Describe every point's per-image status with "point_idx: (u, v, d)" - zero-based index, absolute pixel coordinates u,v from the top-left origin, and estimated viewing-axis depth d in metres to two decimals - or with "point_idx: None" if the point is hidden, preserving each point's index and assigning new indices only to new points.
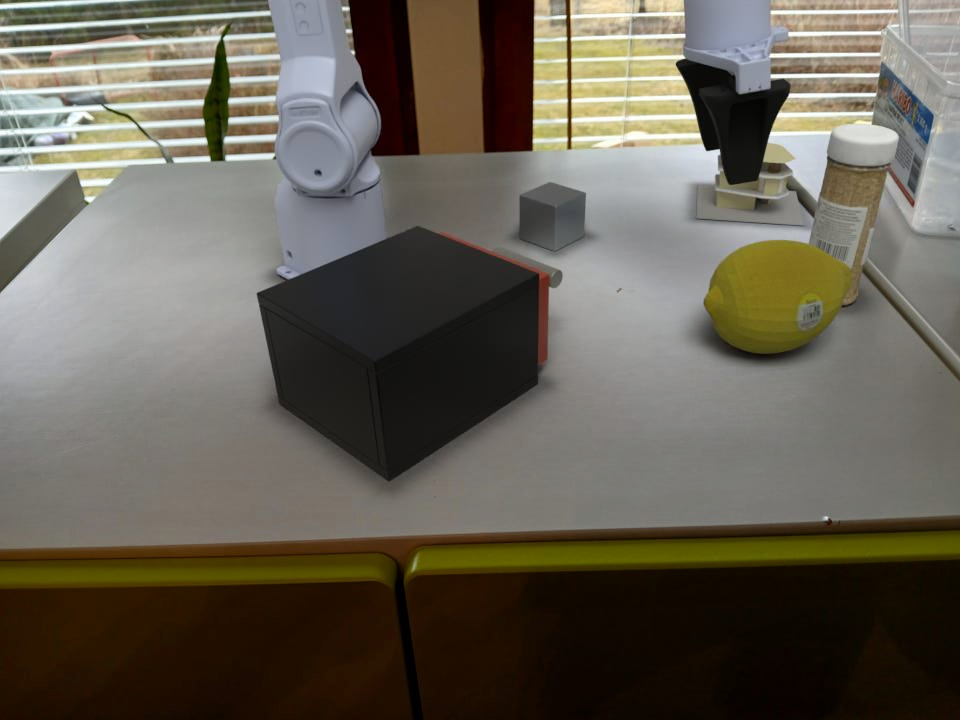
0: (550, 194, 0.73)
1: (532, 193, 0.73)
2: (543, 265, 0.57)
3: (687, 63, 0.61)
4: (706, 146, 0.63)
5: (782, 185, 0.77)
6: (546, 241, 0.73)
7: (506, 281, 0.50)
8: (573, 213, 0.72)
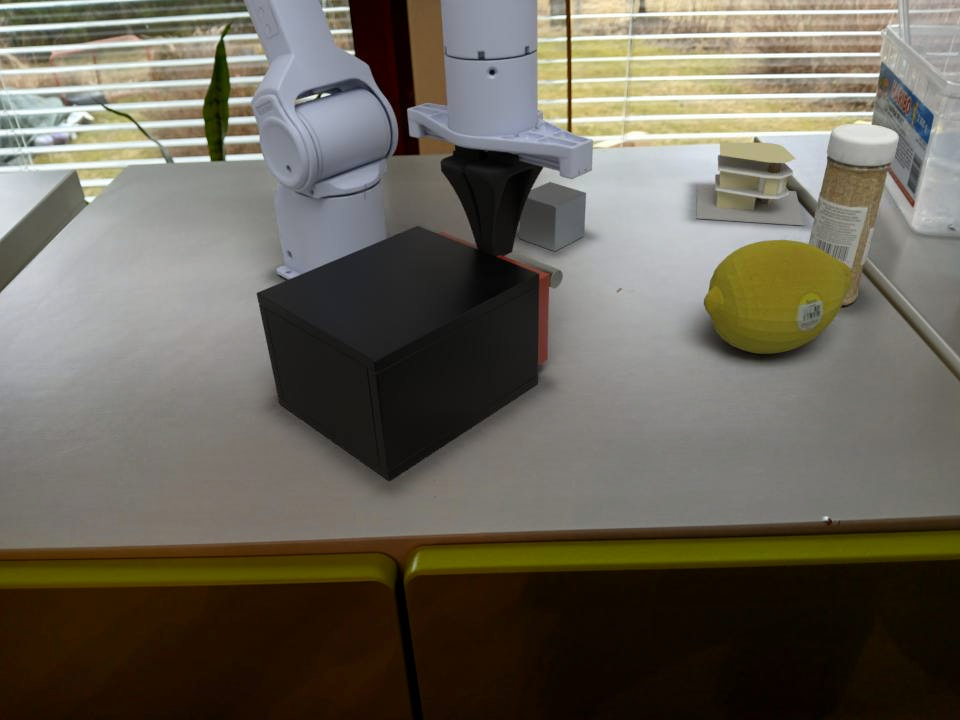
0: (550, 194, 0.73)
1: (532, 193, 0.73)
2: (543, 265, 0.57)
3: (460, 163, 0.51)
4: None
5: (782, 185, 0.77)
6: (546, 241, 0.73)
7: (506, 281, 0.50)
8: (573, 213, 0.72)
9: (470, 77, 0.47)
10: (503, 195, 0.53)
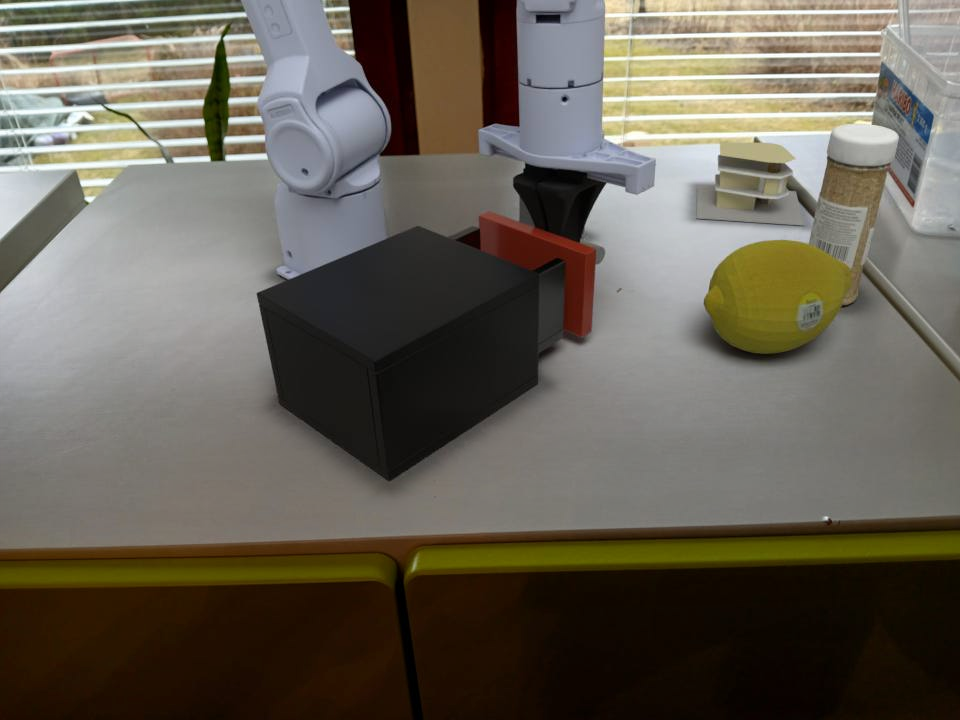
0: None
1: None
2: (586, 242, 0.60)
3: (531, 180, 0.56)
4: None
5: (782, 185, 0.77)
6: None
7: (506, 281, 0.50)
8: None
9: (544, 104, 0.52)
10: (570, 208, 0.58)
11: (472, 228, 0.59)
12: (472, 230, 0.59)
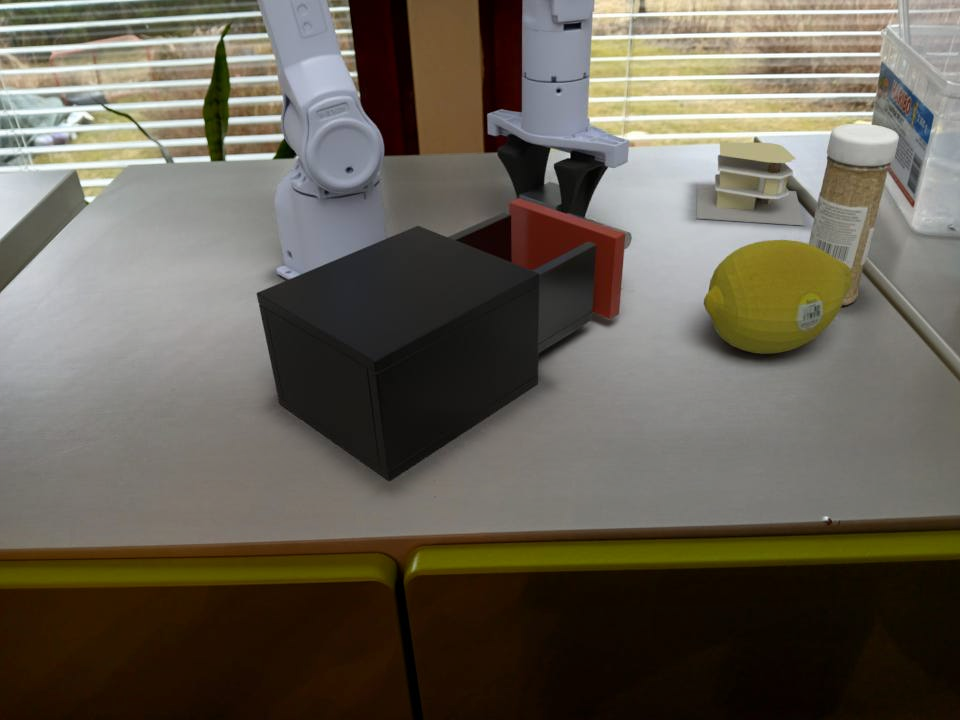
0: (550, 194, 0.73)
1: (532, 193, 0.73)
2: (613, 228, 0.62)
3: (512, 150, 0.71)
4: None
5: (782, 185, 0.77)
6: None
7: (506, 281, 0.50)
8: None
9: (542, 94, 0.65)
10: None
11: (503, 214, 0.61)
12: (503, 215, 0.61)
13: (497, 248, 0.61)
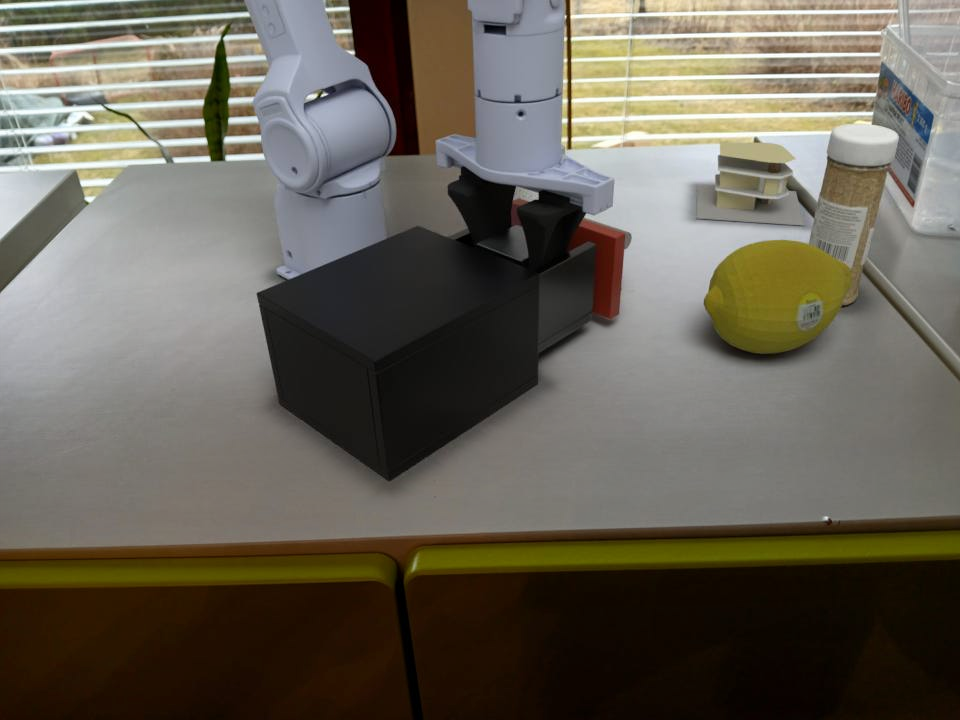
0: (515, 243, 0.57)
1: (493, 240, 0.57)
2: (613, 228, 0.62)
3: (465, 188, 0.56)
4: None
5: (782, 185, 0.77)
6: None
7: (506, 281, 0.50)
8: None
9: (500, 118, 0.50)
10: None
11: None
12: None
13: None
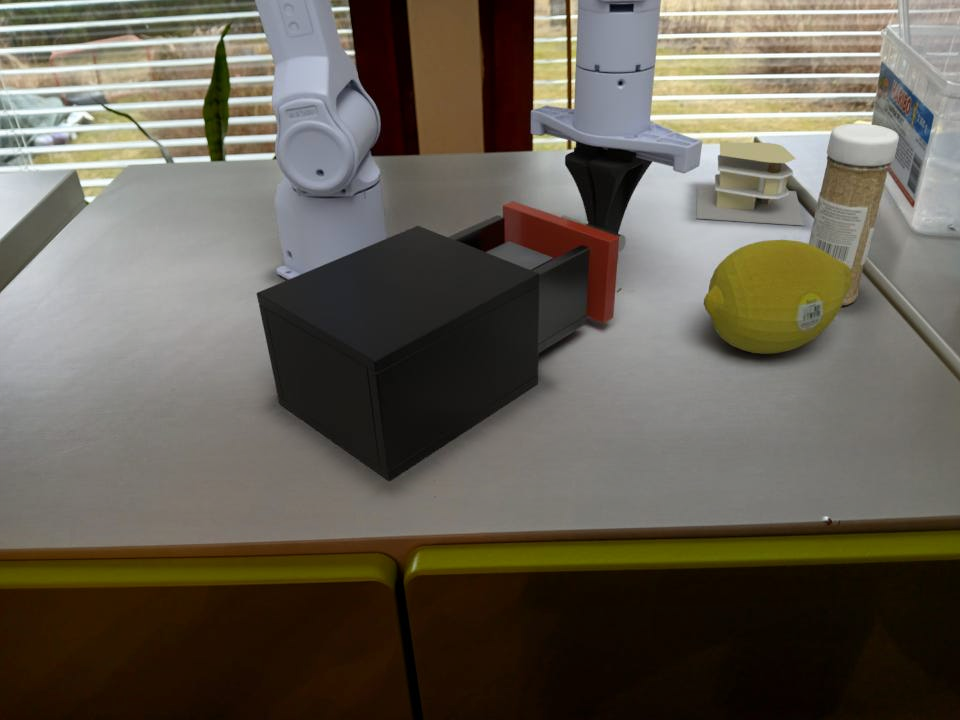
0: (507, 260, 0.57)
1: None
2: (608, 231, 0.62)
3: (583, 158, 0.61)
4: None
5: (782, 185, 0.77)
6: None
7: (506, 281, 0.50)
8: None
9: (602, 87, 0.56)
10: None
11: (497, 217, 0.61)
12: (496, 218, 0.61)
13: None
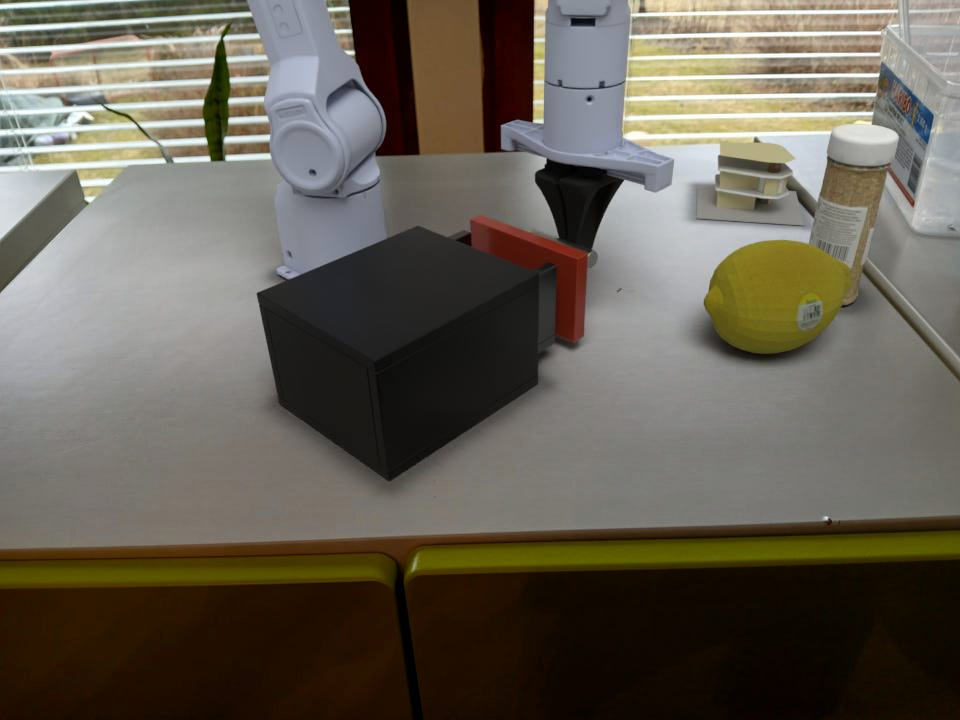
0: None
1: None
2: (579, 246, 0.60)
3: (553, 175, 0.59)
4: None
5: (782, 185, 0.77)
6: None
7: (506, 281, 0.50)
8: None
9: (570, 103, 0.54)
10: None
11: (463, 232, 0.59)
12: (463, 233, 0.58)
13: None
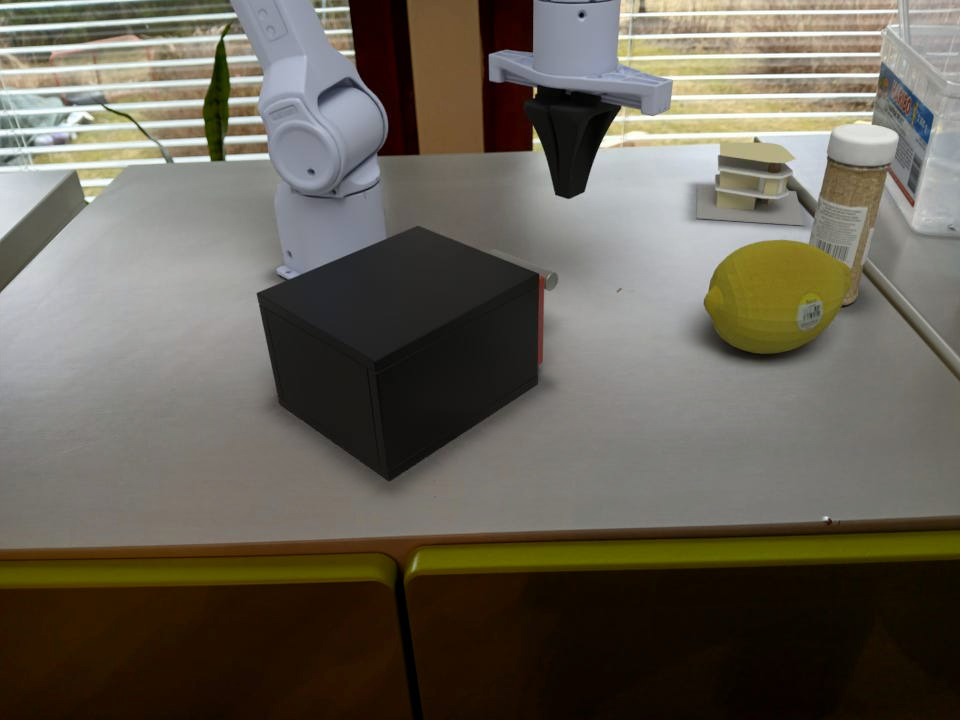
0: None
1: None
2: (539, 267, 0.57)
3: (543, 104, 0.55)
4: (561, 191, 0.59)
5: (782, 185, 0.77)
6: None
7: (506, 281, 0.50)
8: None
9: (561, 20, 0.50)
10: (581, 136, 0.56)
11: None
12: None
13: None
